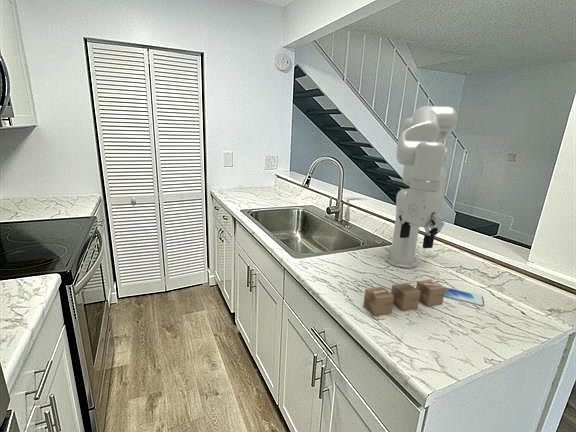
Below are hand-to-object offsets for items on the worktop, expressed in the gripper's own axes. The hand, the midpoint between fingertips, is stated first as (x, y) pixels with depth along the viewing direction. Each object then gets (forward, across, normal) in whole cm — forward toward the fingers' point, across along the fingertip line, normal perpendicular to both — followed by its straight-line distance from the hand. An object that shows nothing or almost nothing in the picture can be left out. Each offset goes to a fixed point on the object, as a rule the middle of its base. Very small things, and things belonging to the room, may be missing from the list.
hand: (415, 242), depth 95 cm
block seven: (+21, 0, +10) cm, 23 cm away
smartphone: (+22, 0, +23) cm, 31 cm away
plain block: (+21, 0, 0) cm, 21 cm away
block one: (+21, 0, -10) cm, 24 cm away
